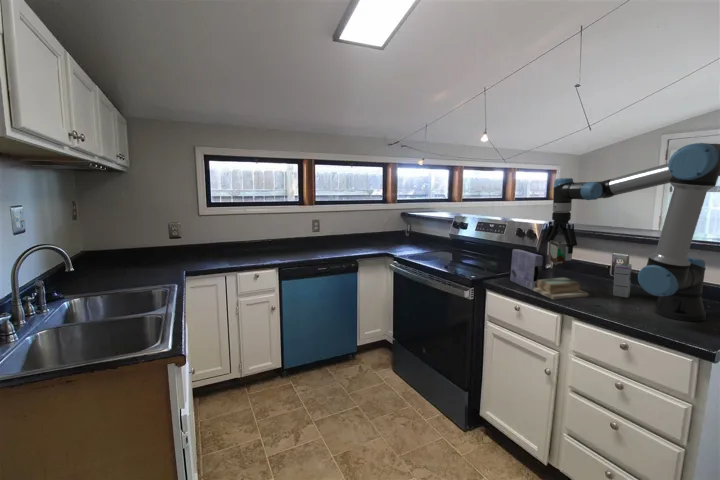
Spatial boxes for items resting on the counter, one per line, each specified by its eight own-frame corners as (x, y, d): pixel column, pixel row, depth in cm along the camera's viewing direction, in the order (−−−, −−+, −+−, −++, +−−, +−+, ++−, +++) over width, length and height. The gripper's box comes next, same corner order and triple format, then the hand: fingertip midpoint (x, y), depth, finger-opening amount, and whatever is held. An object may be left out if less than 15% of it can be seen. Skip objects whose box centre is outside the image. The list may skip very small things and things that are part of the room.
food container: (572, 266, 161) (573, 244, 159) (557, 265, 162) (558, 244, 160) (562, 260, 172) (563, 240, 171) (548, 260, 174) (549, 240, 172)
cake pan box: (542, 290, 174) (544, 255, 171) (533, 291, 173) (535, 256, 170) (517, 280, 193) (518, 248, 190) (509, 281, 192) (510, 249, 189)
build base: (588, 296, 163) (589, 284, 162) (552, 299, 160) (553, 287, 159) (561, 285, 180) (561, 274, 180) (528, 288, 178) (529, 277, 177)
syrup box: (628, 297, 159) (631, 266, 157) (612, 295, 163) (614, 264, 161) (629, 294, 163) (632, 264, 161) (614, 292, 167) (616, 262, 165)
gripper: (537, 210, 175) (535, 253, 179) (573, 214, 152) (570, 263, 156) (551, 209, 176) (549, 252, 180) (588, 213, 153) (585, 262, 157)
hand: (559, 257), depth 168 cm, fingers closed on food container, 11 cm apart
